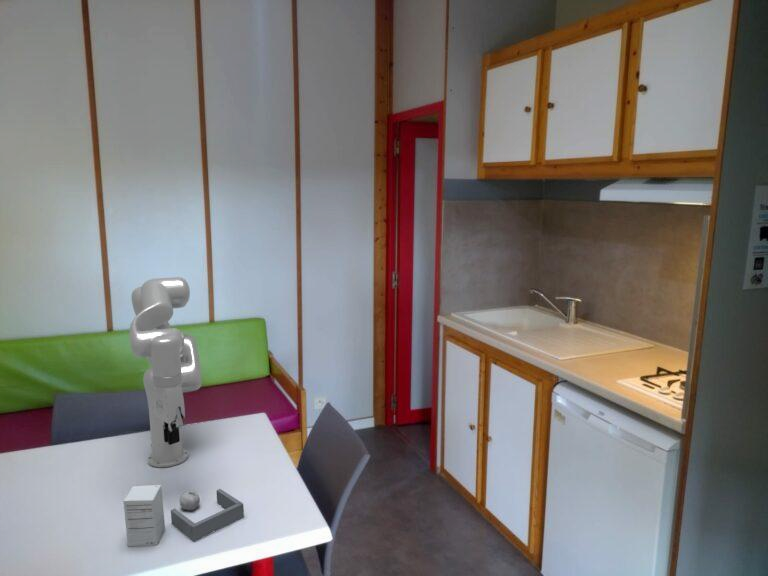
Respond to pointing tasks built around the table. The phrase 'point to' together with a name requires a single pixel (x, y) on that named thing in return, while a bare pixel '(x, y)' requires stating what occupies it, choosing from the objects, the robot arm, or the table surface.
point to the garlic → (189, 500)
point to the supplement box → (144, 515)
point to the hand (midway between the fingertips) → (172, 441)
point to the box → (212, 523)
